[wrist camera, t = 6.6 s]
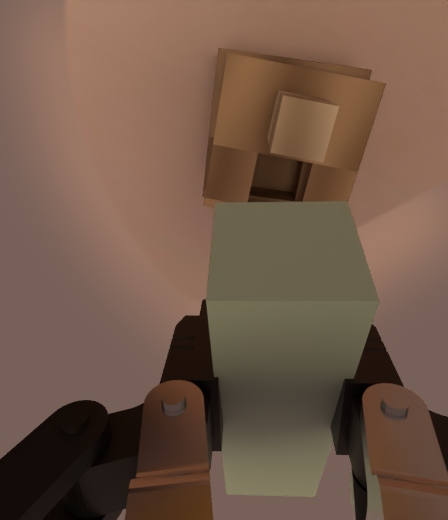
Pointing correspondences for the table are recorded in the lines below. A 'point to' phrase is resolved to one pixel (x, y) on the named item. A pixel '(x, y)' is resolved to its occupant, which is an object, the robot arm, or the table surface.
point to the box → (267, 166)
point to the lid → (289, 127)
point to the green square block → (284, 336)
